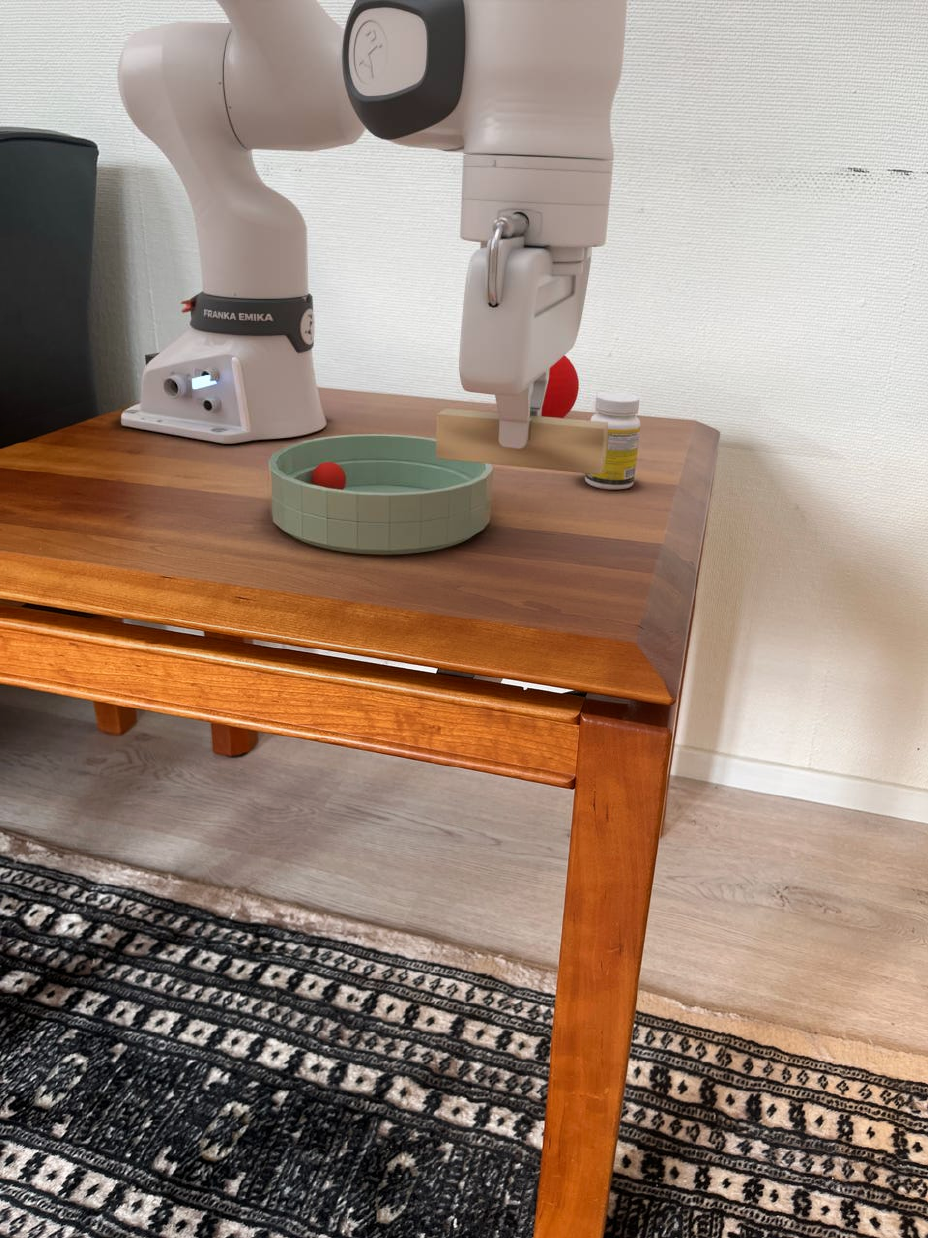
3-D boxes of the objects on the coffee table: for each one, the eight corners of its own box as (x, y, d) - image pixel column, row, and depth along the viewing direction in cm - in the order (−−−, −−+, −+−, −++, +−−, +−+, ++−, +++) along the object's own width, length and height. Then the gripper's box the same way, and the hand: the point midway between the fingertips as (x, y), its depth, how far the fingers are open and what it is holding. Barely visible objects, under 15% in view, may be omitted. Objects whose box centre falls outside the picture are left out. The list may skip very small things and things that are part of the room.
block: (604, 467, 65) (608, 421, 64) (600, 474, 63) (604, 428, 62) (443, 451, 67) (445, 407, 66) (435, 458, 66) (436, 413, 64)
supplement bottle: (580, 475, 97) (587, 390, 94) (626, 476, 98) (636, 391, 94) (589, 490, 93) (598, 401, 89) (638, 491, 93) (649, 402, 90)
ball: (324, 449, 85) (354, 465, 85) (321, 470, 88) (351, 486, 88) (305, 472, 84) (336, 489, 83) (303, 492, 86) (333, 509, 86)
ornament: (583, 434, 113) (591, 345, 109) (506, 434, 112) (511, 343, 107) (565, 416, 121) (572, 332, 117) (493, 415, 120) (497, 331, 115)
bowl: (232, 540, 77) (229, 478, 75) (321, 478, 93) (320, 426, 91) (458, 570, 73) (460, 506, 71) (509, 500, 89) (513, 446, 87)
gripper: (556, 218, 49) (536, 487, 55) (608, 211, 67) (589, 413, 73) (435, 212, 50) (428, 474, 56) (517, 207, 69) (506, 405, 74)
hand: (519, 439), depth 65 cm, fingers closed on block, 2 cm apart
